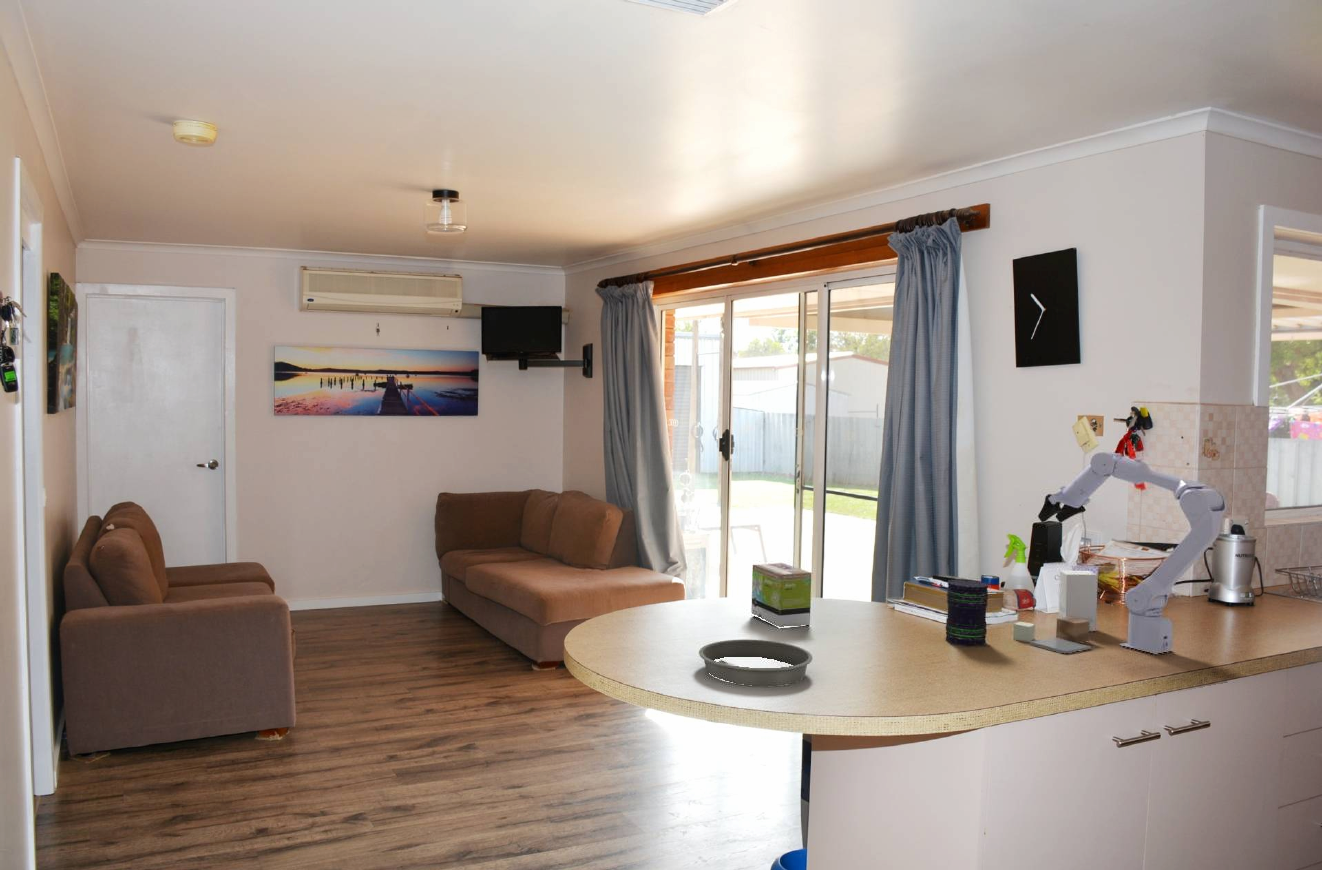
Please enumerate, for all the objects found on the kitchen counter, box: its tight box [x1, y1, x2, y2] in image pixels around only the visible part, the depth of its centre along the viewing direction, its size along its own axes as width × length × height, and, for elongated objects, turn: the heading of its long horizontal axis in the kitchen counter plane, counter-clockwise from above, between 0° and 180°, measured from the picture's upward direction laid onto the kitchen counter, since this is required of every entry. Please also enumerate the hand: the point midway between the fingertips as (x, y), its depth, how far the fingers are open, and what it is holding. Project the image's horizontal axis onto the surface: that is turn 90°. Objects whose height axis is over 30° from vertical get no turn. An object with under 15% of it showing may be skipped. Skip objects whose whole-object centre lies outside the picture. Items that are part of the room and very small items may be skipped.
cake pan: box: [698, 638, 813, 687], centre depth 206 cm, size 25×25×4 cm
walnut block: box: [1055, 617, 1090, 644], centre depth 243 cm, size 6×6×6 cm
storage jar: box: [945, 578, 989, 648], centre depth 238 cm, size 10×10×15 cm
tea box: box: [750, 562, 812, 627], centre depth 255 cm, size 15×10×15 cm, turn 25°
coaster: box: [1029, 636, 1092, 655], centre depth 236 cm, size 10×10×1 cm
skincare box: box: [1058, 569, 1099, 632], centre depth 256 cm, size 8×7×16 cm
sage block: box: [1012, 621, 1036, 643], centre depth 243 cm, size 4×4×4 cm
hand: (1049, 519), depth 258 cm, fingers open, 7 cm apart
